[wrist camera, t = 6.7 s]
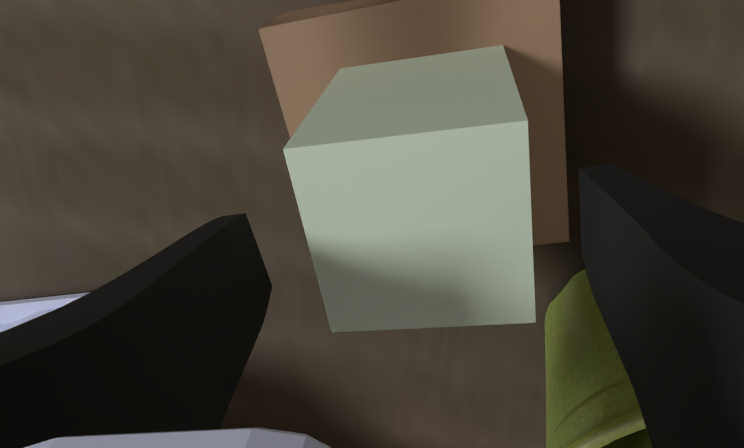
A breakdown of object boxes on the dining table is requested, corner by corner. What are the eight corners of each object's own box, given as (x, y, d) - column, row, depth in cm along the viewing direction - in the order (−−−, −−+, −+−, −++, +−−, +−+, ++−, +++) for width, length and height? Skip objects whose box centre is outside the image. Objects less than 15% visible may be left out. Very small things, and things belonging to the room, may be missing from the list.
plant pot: (749, 179, 18) (949, 369, 11) (769, 379, 22) (926, 618, 15) (474, 250, 21) (484, 440, 14) (536, 417, 25) (570, 635, 18)
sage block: (367, 208, 18) (331, 332, 13) (339, 68, 16) (282, 149, 11) (511, 195, 17) (535, 322, 12) (503, 45, 15) (528, 120, 10)
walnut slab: (342, 222, 22) (327, 265, 19) (286, 10, 18) (258, 28, 15) (554, 197, 20) (569, 241, 18) (542, -43, 16) (558, -32, 14)
